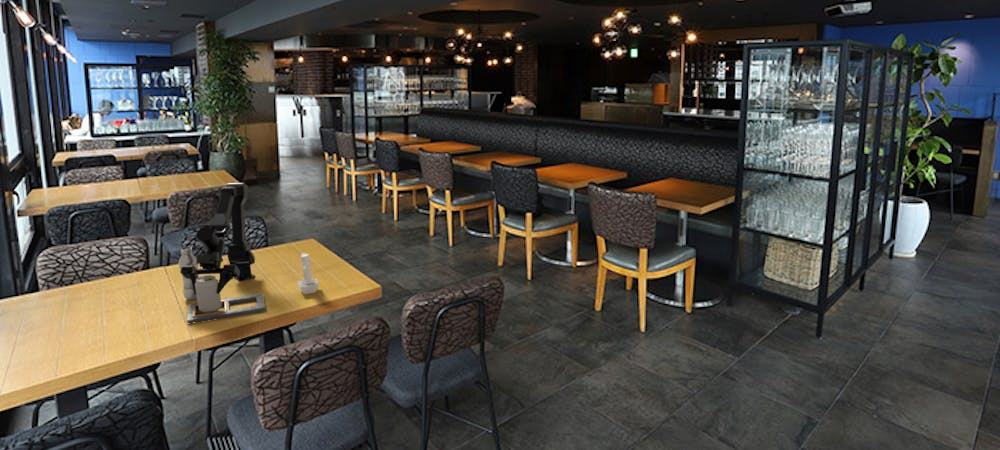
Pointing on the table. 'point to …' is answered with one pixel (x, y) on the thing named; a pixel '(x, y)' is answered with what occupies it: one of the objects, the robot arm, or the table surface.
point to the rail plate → (226, 314)
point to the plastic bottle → (188, 291)
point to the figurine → (307, 277)
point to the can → (208, 294)
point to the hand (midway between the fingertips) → (206, 293)
